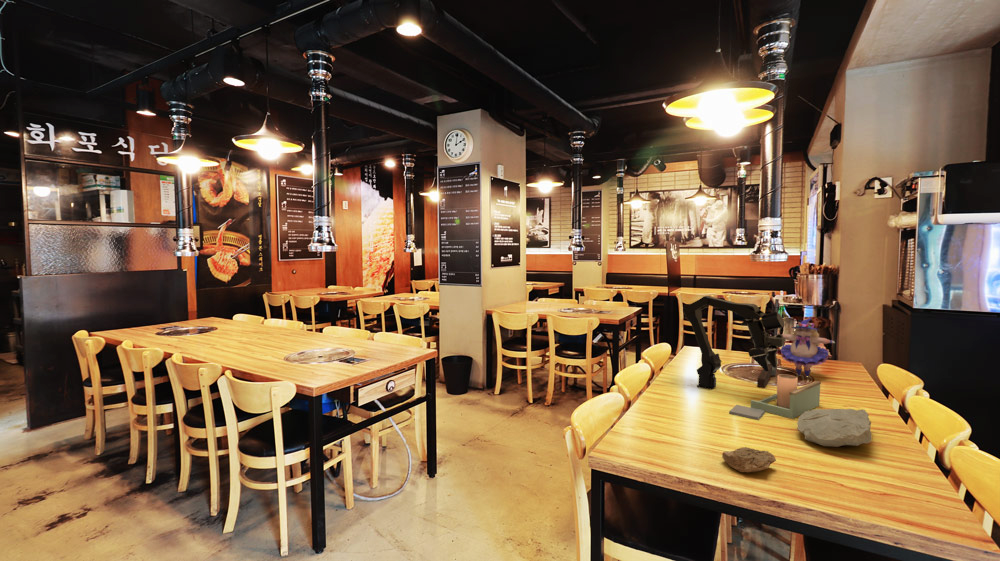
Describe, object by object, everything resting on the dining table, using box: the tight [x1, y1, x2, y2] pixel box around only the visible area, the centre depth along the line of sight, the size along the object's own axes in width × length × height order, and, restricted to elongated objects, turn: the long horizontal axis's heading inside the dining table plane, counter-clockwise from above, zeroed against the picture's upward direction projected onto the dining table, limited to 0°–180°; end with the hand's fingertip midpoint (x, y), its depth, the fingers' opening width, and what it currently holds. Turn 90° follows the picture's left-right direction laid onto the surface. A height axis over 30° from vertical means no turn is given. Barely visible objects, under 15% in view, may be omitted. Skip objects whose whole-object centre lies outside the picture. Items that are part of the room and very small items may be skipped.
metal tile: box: [728, 404, 766, 421], centre depth 176 cm, size 10×10×1 cm
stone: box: [796, 408, 873, 448], centre depth 154 cm, size 33×9×20 cm
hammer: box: [756, 356, 778, 389], centre depth 221 cm, size 5×11×30 cm
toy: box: [774, 317, 836, 377], centre depth 227 cm, size 25×21×30 cm
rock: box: [721, 446, 777, 473], centre depth 132 cm, size 13×11×5 cm
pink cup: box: [775, 373, 799, 409], centre depth 183 cm, size 7×7×12 cm
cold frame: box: [750, 380, 822, 420], centre depth 184 cm, size 15×25×10 cm, turn 126°
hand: (771, 369), depth 190 cm, fingers open, 9 cm apart
